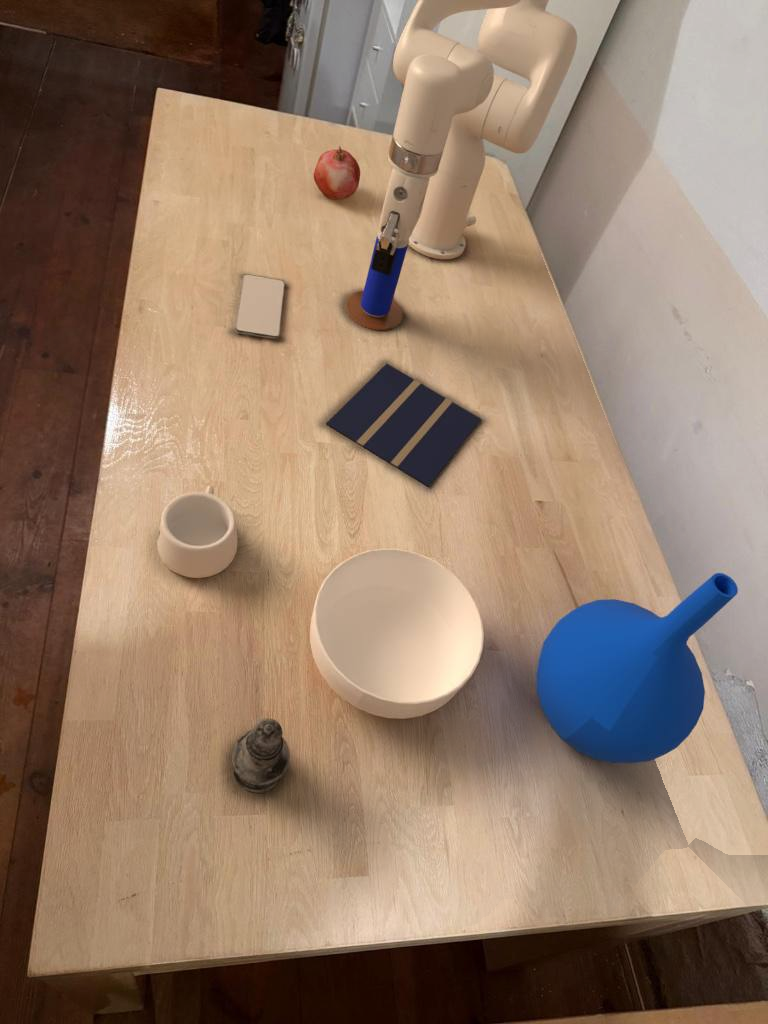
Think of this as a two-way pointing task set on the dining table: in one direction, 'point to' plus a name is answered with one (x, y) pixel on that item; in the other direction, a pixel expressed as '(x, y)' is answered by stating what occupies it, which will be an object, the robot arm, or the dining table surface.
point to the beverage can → (383, 282)
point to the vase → (627, 675)
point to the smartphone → (260, 306)
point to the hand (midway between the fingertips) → (388, 255)
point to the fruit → (337, 174)
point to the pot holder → (405, 424)
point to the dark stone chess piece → (260, 757)
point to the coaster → (368, 321)
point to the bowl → (395, 633)
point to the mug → (197, 534)
